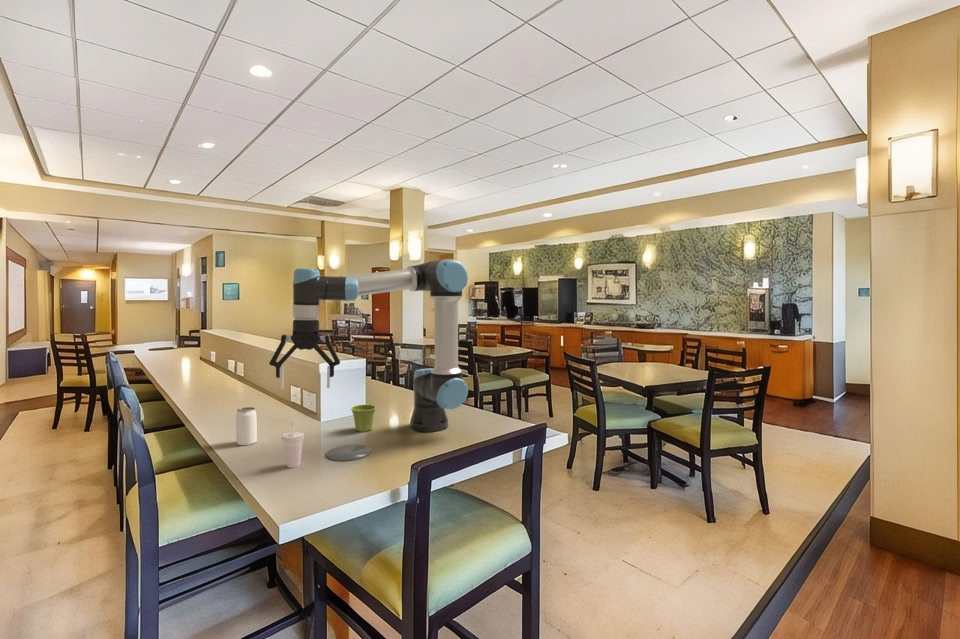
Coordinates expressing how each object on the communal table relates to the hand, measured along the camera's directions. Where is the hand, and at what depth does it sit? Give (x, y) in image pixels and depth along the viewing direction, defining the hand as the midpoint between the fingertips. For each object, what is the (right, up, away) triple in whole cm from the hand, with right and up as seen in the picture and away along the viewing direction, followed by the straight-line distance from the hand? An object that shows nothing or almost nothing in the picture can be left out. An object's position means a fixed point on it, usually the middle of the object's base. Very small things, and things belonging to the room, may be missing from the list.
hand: (305, 388), depth 143 cm
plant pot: (+9, -22, +36) cm, 43 cm away
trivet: (+11, -23, +10) cm, 27 cm away
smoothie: (-3, -24, -1) cm, 24 cm away
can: (-28, -23, +20) cm, 41 cm away
